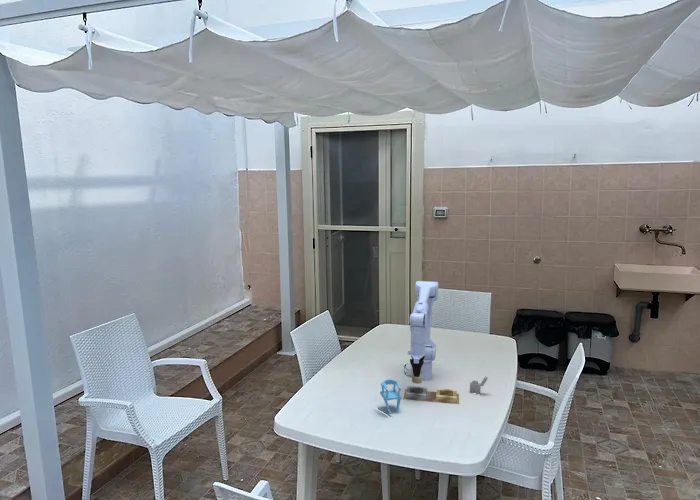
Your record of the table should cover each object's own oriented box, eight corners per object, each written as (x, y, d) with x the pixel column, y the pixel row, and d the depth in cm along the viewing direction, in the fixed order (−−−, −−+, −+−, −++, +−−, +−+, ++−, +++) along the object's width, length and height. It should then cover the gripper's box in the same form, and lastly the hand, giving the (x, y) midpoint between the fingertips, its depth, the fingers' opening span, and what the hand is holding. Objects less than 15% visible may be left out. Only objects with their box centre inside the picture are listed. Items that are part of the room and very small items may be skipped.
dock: (402, 401, 201) (403, 394, 200) (405, 391, 211) (405, 384, 210) (459, 406, 197) (459, 399, 196) (458, 396, 206) (459, 389, 206)
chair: (384, 417, 187) (385, 387, 185) (377, 408, 195) (377, 378, 193) (404, 415, 189) (404, 385, 188) (395, 405, 197) (396, 376, 195)
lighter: (469, 392, 210) (470, 374, 209) (470, 391, 211) (471, 373, 210) (486, 396, 206) (487, 377, 205) (487, 394, 208) (488, 376, 207)
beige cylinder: (409, 381, 204) (410, 362, 203) (417, 378, 207) (417, 360, 206) (416, 384, 201) (416, 365, 200) (423, 382, 203) (424, 363, 202)
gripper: (409, 336, 209) (408, 367, 211) (406, 347, 195) (405, 380, 197) (426, 337, 208) (425, 368, 210) (424, 348, 194) (423, 381, 196)
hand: (417, 374), depth 203 cm, fingers closed on beige cylinder, 4 cm apart
